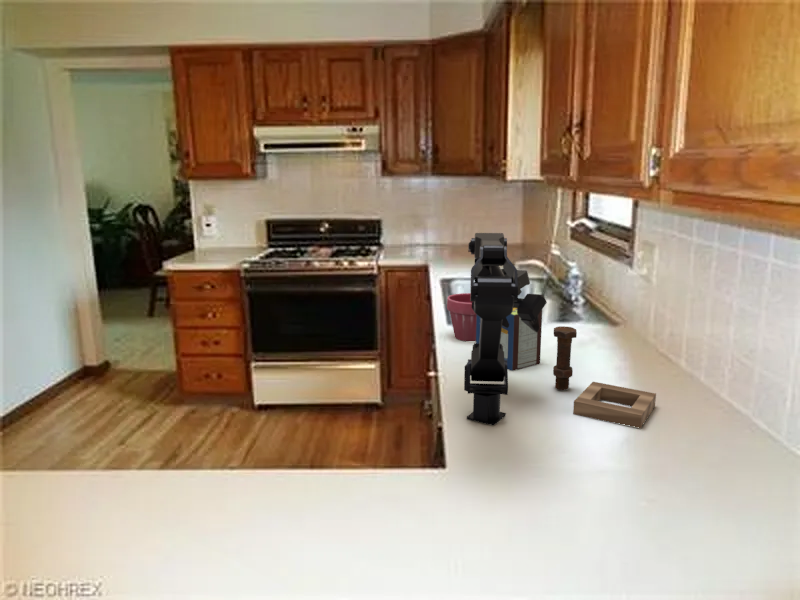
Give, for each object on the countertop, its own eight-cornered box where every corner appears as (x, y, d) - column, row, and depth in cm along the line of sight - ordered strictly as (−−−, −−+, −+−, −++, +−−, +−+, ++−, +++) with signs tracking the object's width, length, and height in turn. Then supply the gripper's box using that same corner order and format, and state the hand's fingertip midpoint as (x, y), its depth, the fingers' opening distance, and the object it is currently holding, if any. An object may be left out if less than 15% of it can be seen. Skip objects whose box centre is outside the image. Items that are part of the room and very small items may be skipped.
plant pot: (499, 335, 190) (501, 295, 188) (481, 347, 179) (482, 305, 176) (459, 329, 198) (459, 290, 195) (438, 339, 186) (438, 299, 183)
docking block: (640, 429, 124) (641, 415, 123) (573, 413, 132) (573, 401, 131) (654, 406, 135) (656, 393, 135) (592, 393, 143) (592, 381, 142)
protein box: (502, 349, 176) (503, 297, 173) (540, 364, 164) (543, 308, 160) (474, 356, 171) (475, 302, 167) (512, 371, 158) (514, 314, 155)
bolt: (573, 394, 143) (577, 332, 139) (551, 392, 144) (554, 331, 140) (571, 385, 148) (575, 326, 145) (550, 383, 149) (553, 325, 146)
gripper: (544, 258, 133) (571, 308, 140) (482, 256, 147) (510, 302, 155) (518, 293, 128) (547, 343, 136) (457, 288, 143) (487, 333, 150)
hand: (522, 328), depth 144 cm, fingers open, 9 cm apart
